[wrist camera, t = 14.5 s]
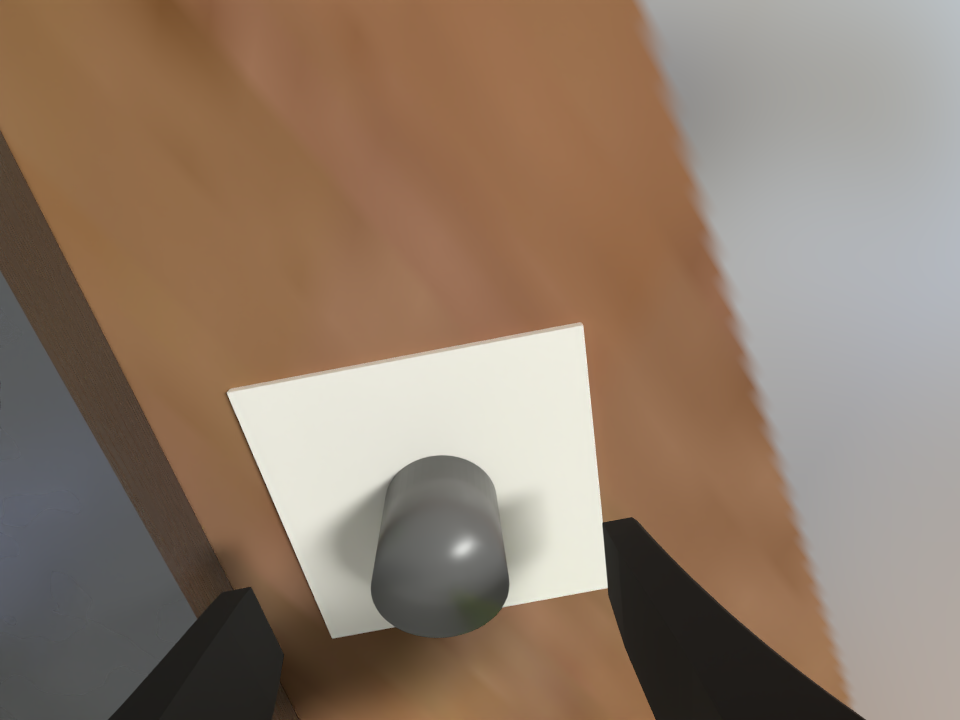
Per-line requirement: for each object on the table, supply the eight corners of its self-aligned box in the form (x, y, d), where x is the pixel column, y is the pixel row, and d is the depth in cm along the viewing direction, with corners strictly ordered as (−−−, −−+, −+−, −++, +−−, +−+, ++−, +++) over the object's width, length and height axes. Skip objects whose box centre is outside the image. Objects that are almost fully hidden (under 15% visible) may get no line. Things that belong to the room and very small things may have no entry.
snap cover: (337, 614, 15) (308, 742, 12) (240, 377, 12) (164, 463, 9) (600, 565, 15) (644, 681, 12) (573, 313, 12) (623, 377, 9)
